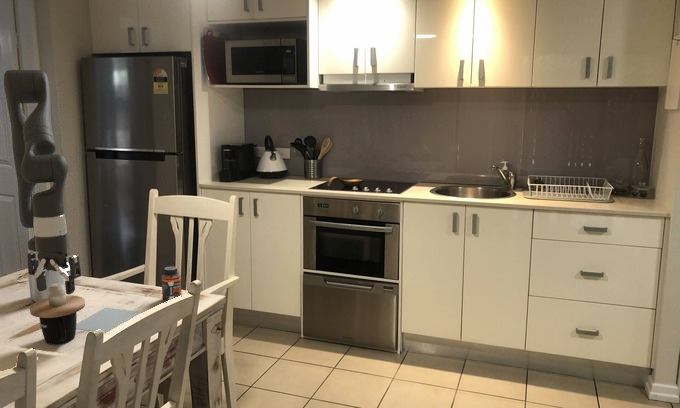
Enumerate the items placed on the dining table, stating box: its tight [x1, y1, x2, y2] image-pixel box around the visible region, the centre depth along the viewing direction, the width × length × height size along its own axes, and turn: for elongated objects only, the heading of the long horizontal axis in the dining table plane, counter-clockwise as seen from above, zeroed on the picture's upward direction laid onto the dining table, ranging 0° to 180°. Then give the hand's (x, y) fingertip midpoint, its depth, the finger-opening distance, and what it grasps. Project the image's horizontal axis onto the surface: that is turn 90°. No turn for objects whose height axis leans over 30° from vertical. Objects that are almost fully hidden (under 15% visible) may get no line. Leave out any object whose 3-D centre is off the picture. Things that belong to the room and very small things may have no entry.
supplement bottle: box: [161, 266, 182, 303], centre depth 181 cm, size 6×6×11 cm
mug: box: [38, 312, 77, 346], centre depth 150 cm, size 12×9×10 cm
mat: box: [76, 307, 143, 333], centre depth 165 cm, size 16×16×1 cm
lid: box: [29, 283, 86, 318], centre depth 149 cm, size 13×13×6 cm
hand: (56, 292), depth 148 cm, fingers open, 8 cm apart
